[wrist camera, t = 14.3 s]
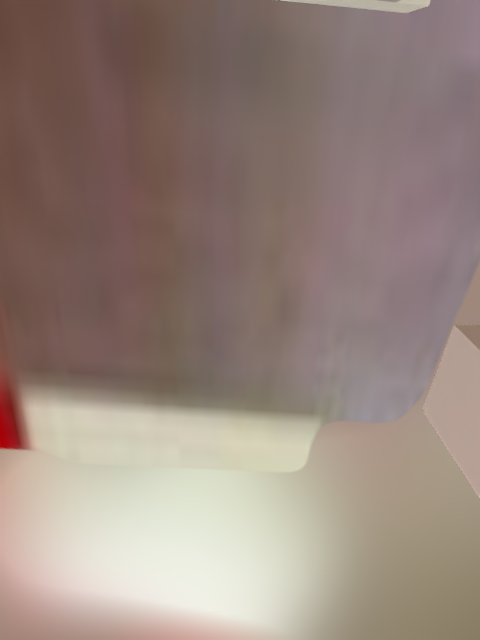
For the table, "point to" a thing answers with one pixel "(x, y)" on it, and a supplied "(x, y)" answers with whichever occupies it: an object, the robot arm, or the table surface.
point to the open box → (374, 4)
